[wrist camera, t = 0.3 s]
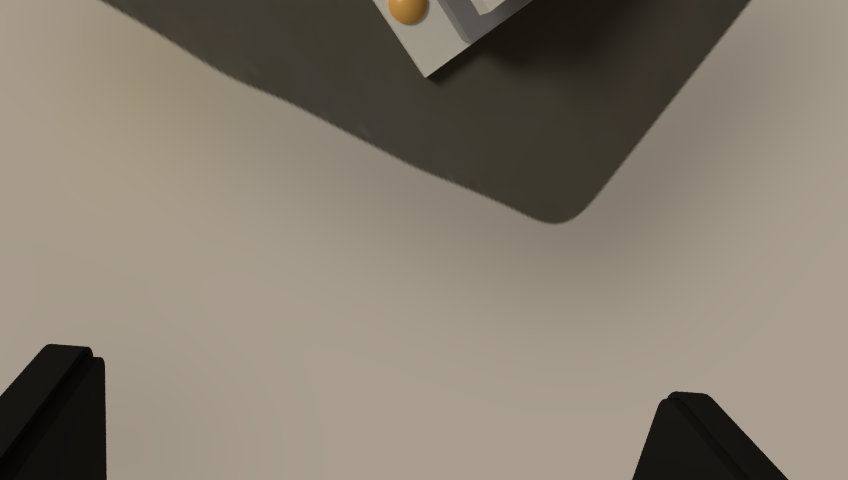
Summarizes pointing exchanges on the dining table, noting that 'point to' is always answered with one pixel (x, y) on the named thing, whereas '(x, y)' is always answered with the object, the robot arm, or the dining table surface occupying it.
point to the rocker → (486, 5)
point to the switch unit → (440, 27)
